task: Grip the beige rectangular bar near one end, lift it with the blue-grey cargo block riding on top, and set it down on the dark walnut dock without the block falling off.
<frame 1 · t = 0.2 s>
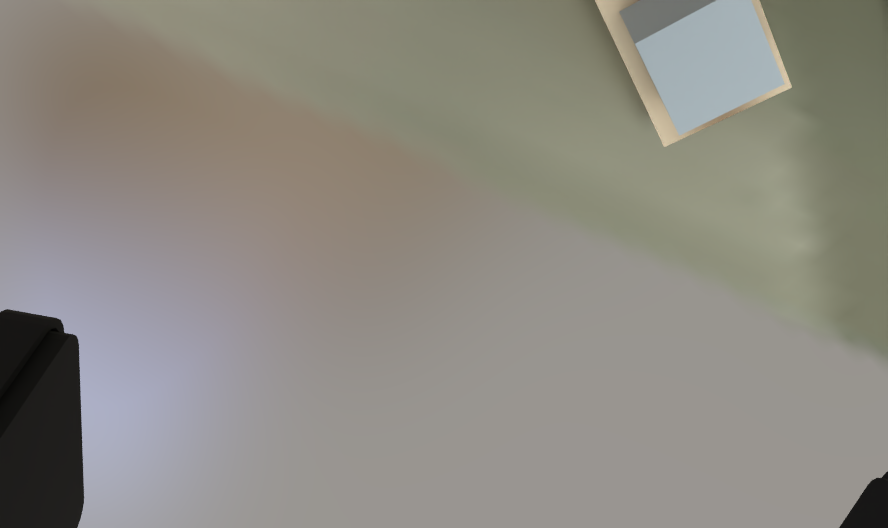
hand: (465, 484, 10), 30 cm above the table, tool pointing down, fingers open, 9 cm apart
cargo block: (687, 30, 33), point 4 cm above the table
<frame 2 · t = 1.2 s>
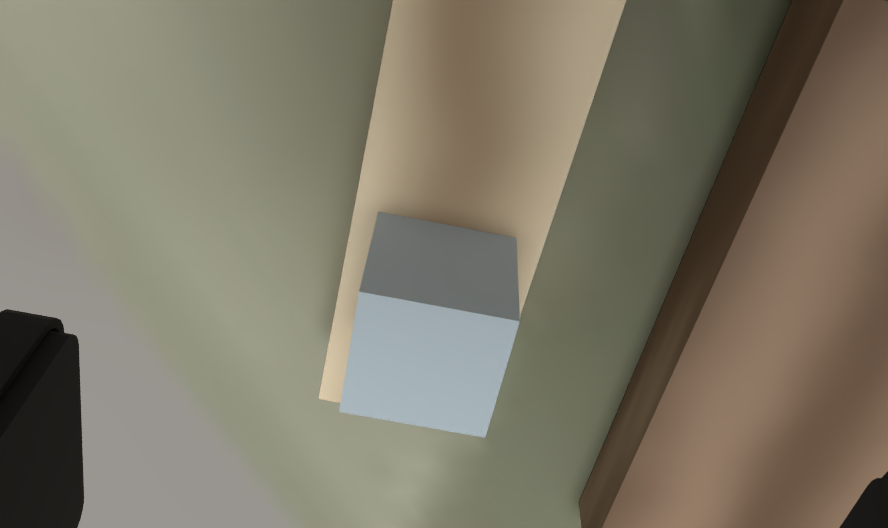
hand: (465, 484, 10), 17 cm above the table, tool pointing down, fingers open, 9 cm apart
cargo block: (434, 282, 25), point 4 cm above the table
dock: (836, 320, 29), on the table
beige rectangular bar: (466, 120, 27), on the table
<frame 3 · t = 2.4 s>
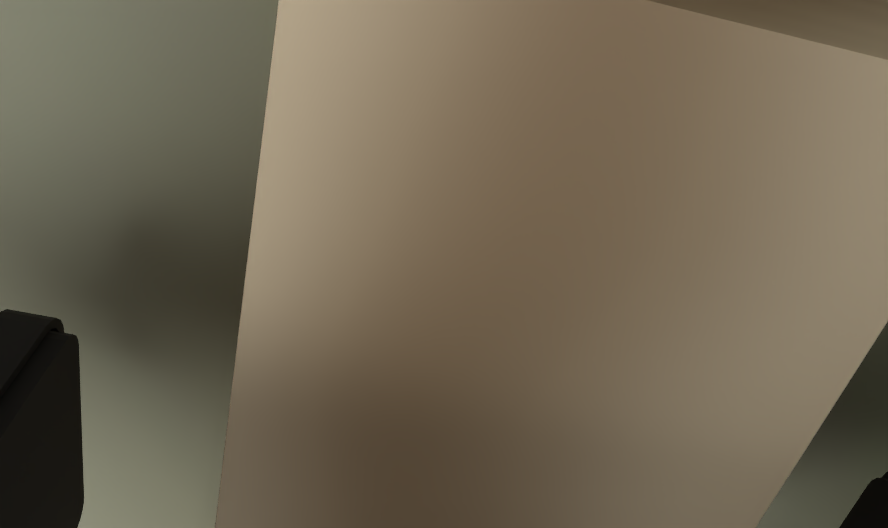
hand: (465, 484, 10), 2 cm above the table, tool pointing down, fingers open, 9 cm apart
beige rectangular bar: (431, 468, 14), on the table, touching cargo block
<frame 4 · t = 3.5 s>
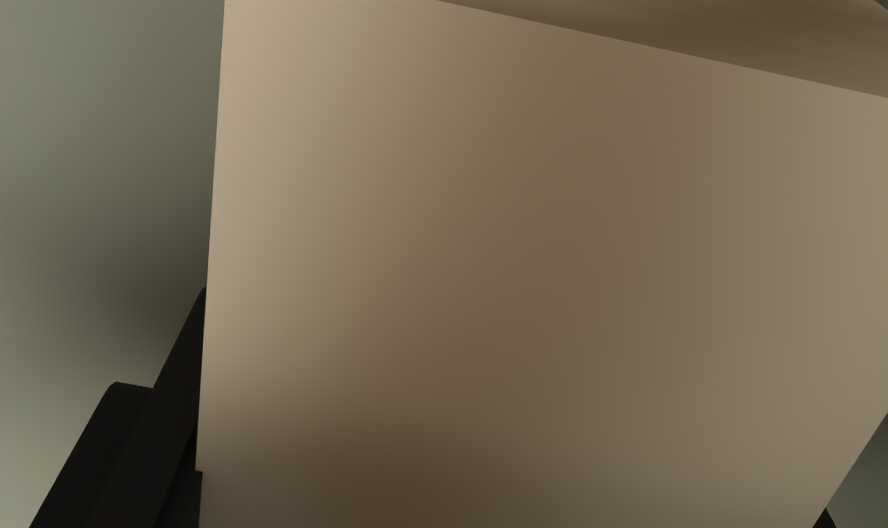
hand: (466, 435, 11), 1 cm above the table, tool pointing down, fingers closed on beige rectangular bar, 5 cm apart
beige rectangular bar: (427, 509, 14), on the table, touching cargo block, gripper
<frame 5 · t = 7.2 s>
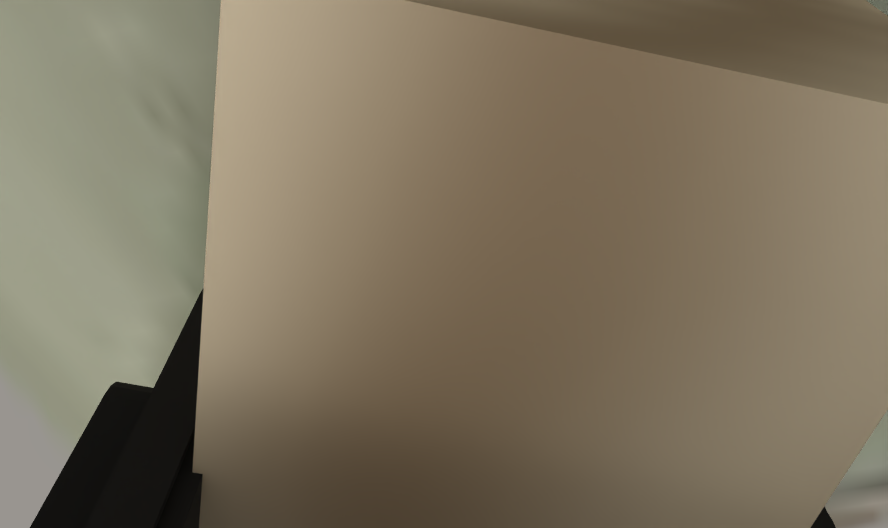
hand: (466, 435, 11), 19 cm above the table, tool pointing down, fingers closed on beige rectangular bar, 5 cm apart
beige rectangular bar: (425, 511, 14), point 18 cm above the table, touching cargo block, gripper
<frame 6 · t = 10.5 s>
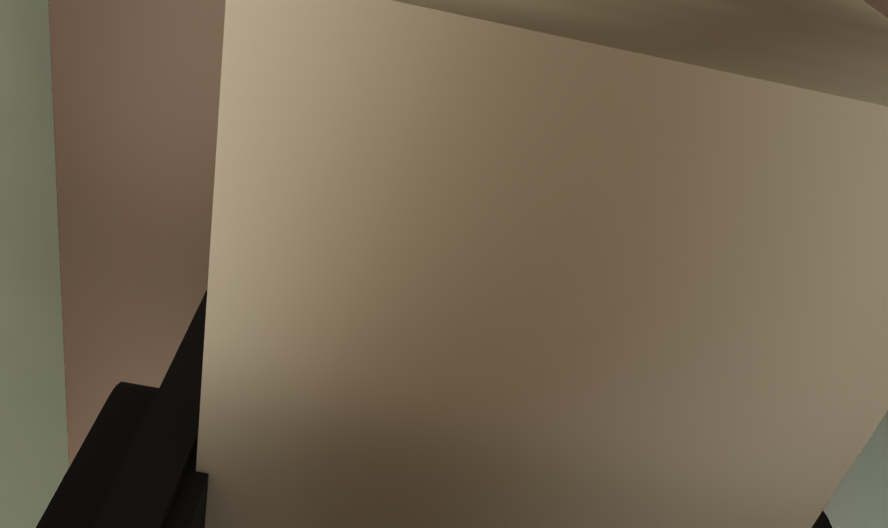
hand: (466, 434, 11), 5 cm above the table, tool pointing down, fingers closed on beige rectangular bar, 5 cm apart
dock: (428, 377, 17), on the table
beige rectangular bar: (426, 511, 14), point 4 cm above the table, touching cargo block, gripper
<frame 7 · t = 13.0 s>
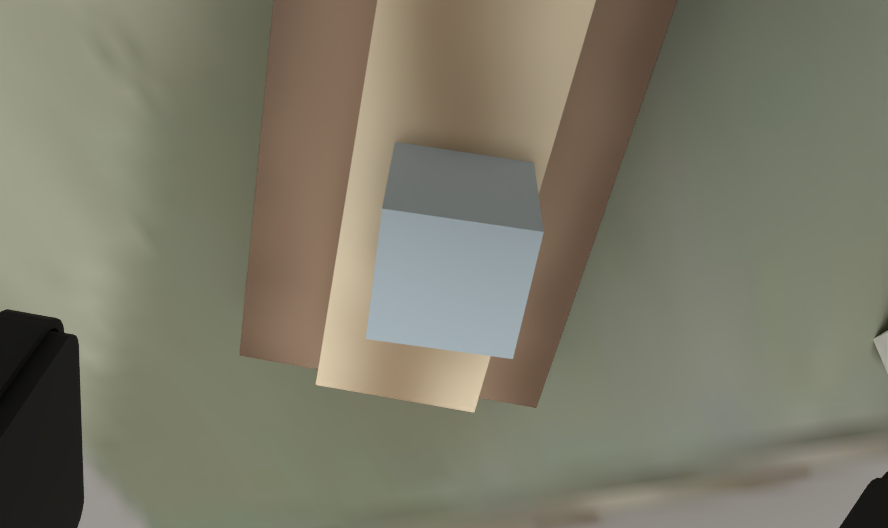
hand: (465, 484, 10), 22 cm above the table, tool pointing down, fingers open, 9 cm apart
cargo block: (453, 213, 25), point 7 cm above the table, touching beige rectangular bar
dock: (447, 97, 31), on the table
beige rectangular bar: (451, 111, 28), point 3 cm above the table, touching cargo block, dock
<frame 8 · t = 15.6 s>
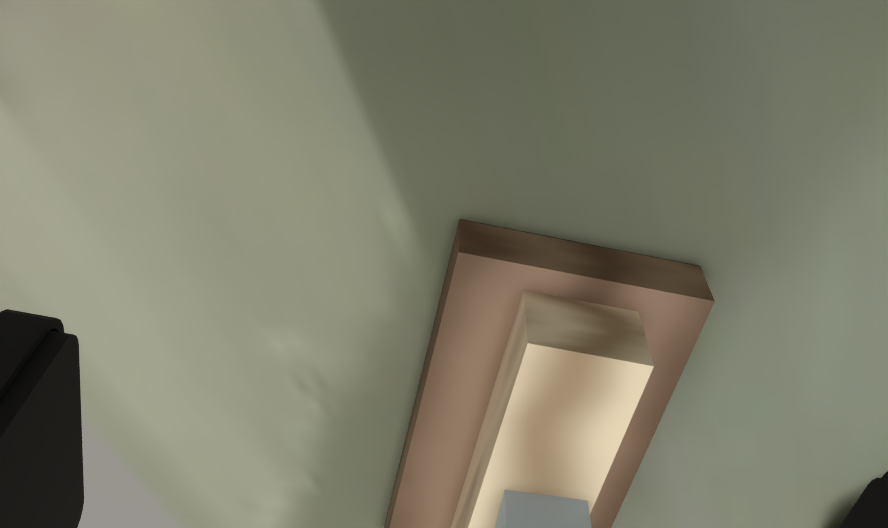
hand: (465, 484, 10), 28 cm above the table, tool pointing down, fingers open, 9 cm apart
cargo block: (537, 523, 41), point 7 cm above the table, touching beige rectangular bar
dock: (524, 410, 47), on the table
beige rectangular bar: (531, 440, 44), point 3 cm above the table, touching cargo block, dock
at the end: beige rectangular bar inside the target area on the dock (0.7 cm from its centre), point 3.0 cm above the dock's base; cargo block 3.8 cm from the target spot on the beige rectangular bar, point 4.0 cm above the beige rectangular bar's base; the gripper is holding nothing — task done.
